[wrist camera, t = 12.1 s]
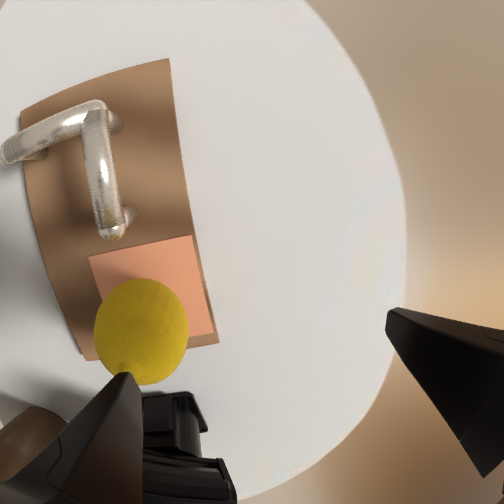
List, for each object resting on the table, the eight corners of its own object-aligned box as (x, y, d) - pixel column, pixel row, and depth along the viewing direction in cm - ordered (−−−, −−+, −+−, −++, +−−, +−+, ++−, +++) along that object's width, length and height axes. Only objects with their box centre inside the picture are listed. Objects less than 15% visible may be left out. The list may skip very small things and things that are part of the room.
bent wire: (143, 222, 17) (125, 241, 12) (51, 245, 16) (17, 268, 11) (125, 110, 14) (101, 92, 10) (33, 144, 13) (-6, 142, 9)
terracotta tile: (213, 331, 20) (213, 332, 20) (122, 345, 19) (121, 347, 19) (191, 234, 18) (191, 234, 17) (88, 256, 17) (87, 257, 16)
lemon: (107, 314, 18) (72, 388, 10) (126, 248, 17) (83, 304, 9) (174, 340, 19) (170, 422, 12) (201, 279, 18) (206, 351, 11)
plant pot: (-13, 382, 18) (-55, 464, 3) (55, 379, 20) (9, 504, 5) (49, 452, 23) (32, 529, 8) (123, 456, 25) (119, 556, 10)
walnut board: (218, 335, 21) (219, 342, 20) (89, 354, 20) (86, 361, 19) (169, 63, 15) (168, 58, 14) (26, 113, 13) (20, 111, 12)
